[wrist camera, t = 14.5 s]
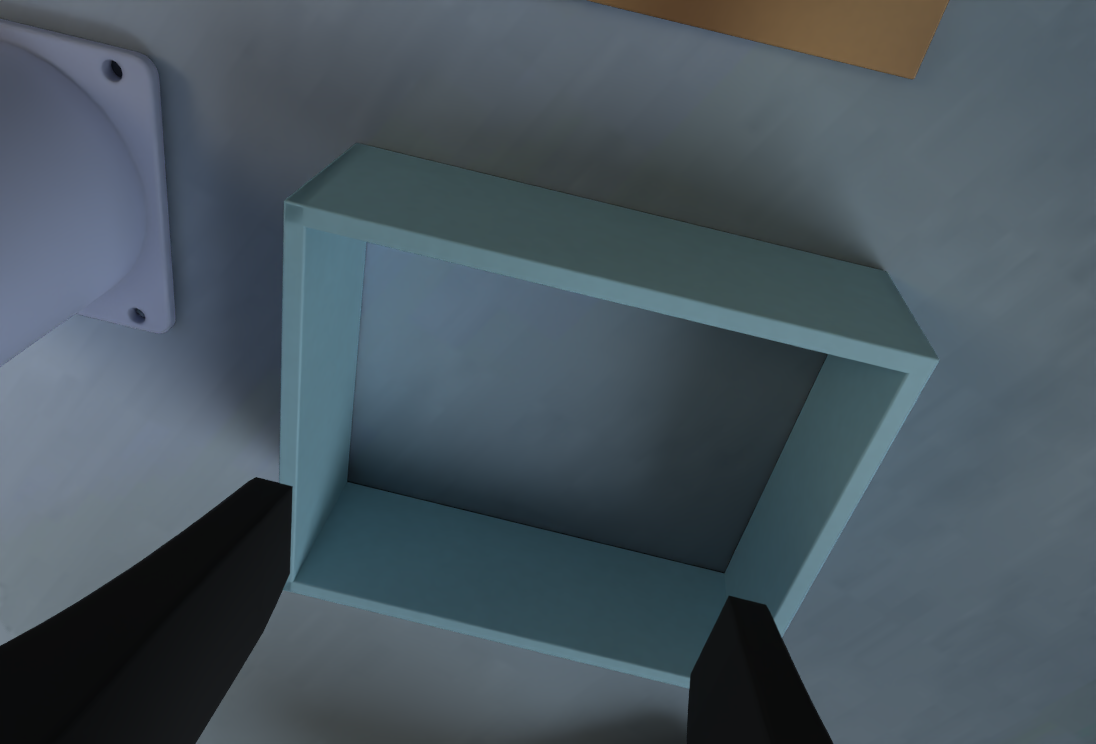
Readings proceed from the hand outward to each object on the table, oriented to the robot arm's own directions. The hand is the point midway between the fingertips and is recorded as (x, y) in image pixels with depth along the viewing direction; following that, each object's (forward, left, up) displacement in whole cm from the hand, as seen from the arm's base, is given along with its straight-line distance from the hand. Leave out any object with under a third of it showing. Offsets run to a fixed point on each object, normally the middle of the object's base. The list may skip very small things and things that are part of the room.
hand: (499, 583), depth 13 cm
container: (+1, -3, -10) cm, 11 cm away
